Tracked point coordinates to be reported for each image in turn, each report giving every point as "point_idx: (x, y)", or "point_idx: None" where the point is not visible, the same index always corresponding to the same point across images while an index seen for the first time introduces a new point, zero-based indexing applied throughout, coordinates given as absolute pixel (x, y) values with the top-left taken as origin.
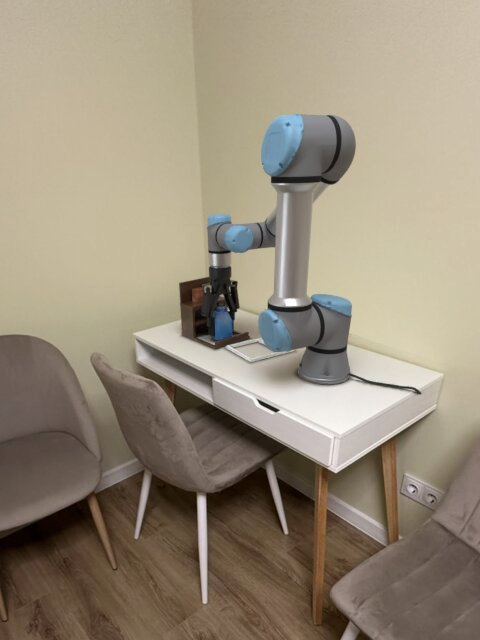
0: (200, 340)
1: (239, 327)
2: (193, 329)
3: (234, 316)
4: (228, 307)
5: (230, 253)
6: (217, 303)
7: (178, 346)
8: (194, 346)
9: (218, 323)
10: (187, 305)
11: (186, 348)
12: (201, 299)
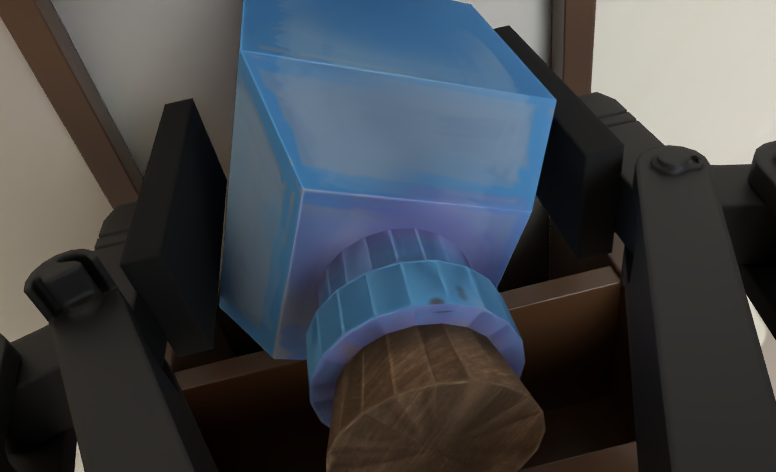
0: (586, 92)
1: (9, 296)
2: None
3: (104, 244)
4: (182, 396)
5: None
6: (538, 414)
7: (762, 102)
8: (673, 29)
9: (494, 82)
10: None
11: (761, 18)
12: None
